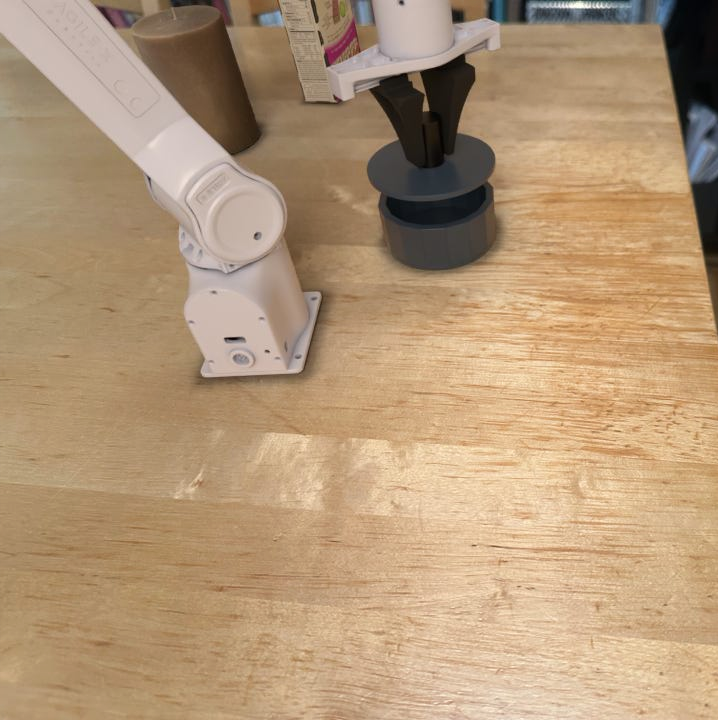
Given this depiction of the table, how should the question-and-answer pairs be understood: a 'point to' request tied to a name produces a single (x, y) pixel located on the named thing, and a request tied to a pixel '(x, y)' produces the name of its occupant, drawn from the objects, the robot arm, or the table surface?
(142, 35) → the pillar candle
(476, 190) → the pot
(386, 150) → the lid
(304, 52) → the candy bar box
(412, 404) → the table surface
